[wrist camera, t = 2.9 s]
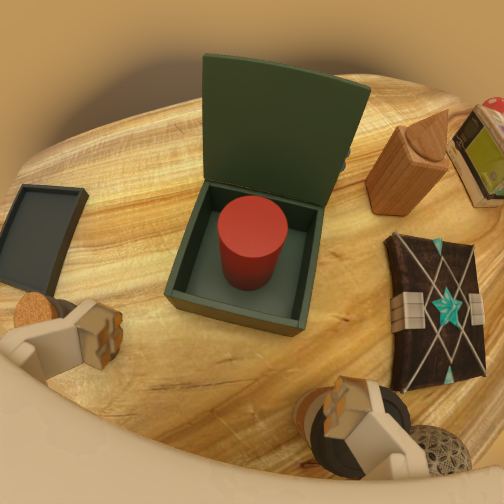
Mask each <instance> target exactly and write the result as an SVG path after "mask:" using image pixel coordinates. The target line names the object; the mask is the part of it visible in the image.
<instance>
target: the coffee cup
mask: <svg viewBox="0 0 504 504" xmlns="http://www.w3.org/2000/svg"><path fill="white" fill-rule="evenodd" d="M333 388H335V386H334V387H324V388H317V389H312V390H310V391H308V392H306V393H305V394H304V395H302V396H301V397H300V398H299V400H298V401H297V402H296V405H295V407H294V411H293V419H294V423H295V425H296V427H297V429H298V431H299V433H300V435H301V436H302V438H303V439H304V441H305V442H306V444H307V445H308V447H309V448H310V449H311V450H312V452H313V454H314V457H315V459H316V461H317V462H318V463H319V464H320V465H321V466H322V467H323V468H324V469H326V470H328V471H330V472H332V473H334V474H336V475H338V476H341V477H347V478H361V477H364V476H366V474H365V473H364V471H363V470H362V468H361V466H360V465H359V463H358V461H357V460H356V458H355V457H354V455H353V453H352V452H351V450H350V449H349V447H348V445H347V444H346V442H345V440H344V439H336V438H329V437H324V421H325V420H326V419H327V417H326V416H325V415H324V414H323V406H324V401H325V398H326V395H327V394H328V392H329V390H331V389H333ZM379 388H380V392H381V396H382V401H383V405H384V409H385V413H389V414H390V415H391V416H392V418H393V419H394V420H395V421H396V422H397V423H398V424H399V425H400V426H401V427H402V428H403V429H404V430H405V431H406V432H407V433H408V435H409V434H410V428H411V423H410V415H409V412H408V410H407V407H406V405H405V404H404V403H403V401H402V400H401V399H400V398H399V397H398V395H397V394H396V393H394V392H393V391H391V390H390V389H388V388H386V387H382V386H379Z"/></svg>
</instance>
